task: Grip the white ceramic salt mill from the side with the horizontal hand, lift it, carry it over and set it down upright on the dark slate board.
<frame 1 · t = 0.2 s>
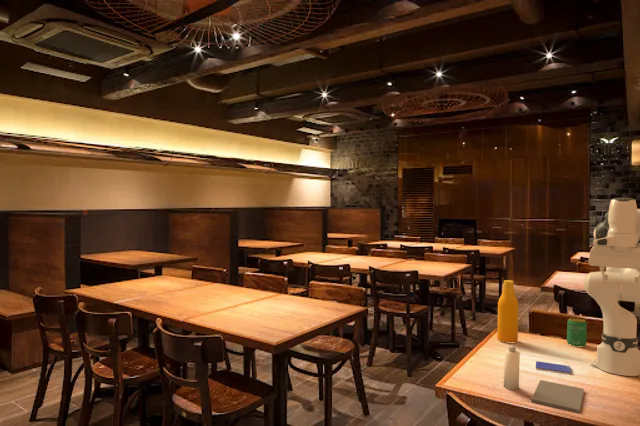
hand: (620, 281, 163), 39 cm above the table, tool pointing down, fingers open, 8 cm apart
slate board: (558, 396, 156), on the table
beer bottle: (507, 341, 220), on the table
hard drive: (552, 370, 183), on the table
beverage can: (576, 345, 215), on the table
salt mill: (511, 387, 164), on the table
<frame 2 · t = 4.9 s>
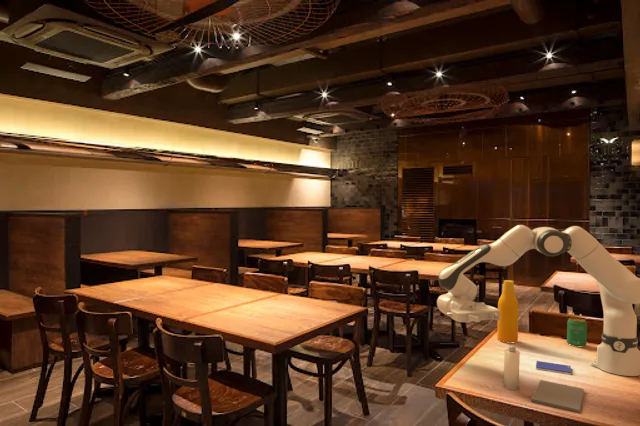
hand: (489, 319, 175), 22 cm above the table, tool horizontal, fingers open, 8 cm apart
nothing on the table moved.
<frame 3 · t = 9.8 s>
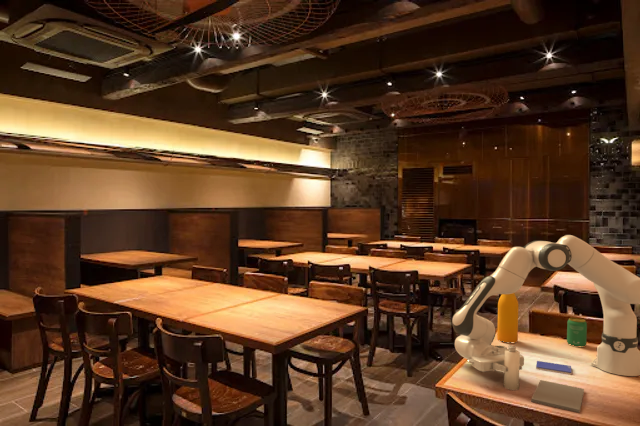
hand: (513, 368, 163), 7 cm above the table, tool horizontal, fingers closed on salt mill, 5 cm apart
salt mill: (511, 387, 164), on the table, touching gripper
everything else where it was.
when the fingers open (9 cm above the table, at t = 16.0 s): salt mill drops 1 cm, resting on slate board.
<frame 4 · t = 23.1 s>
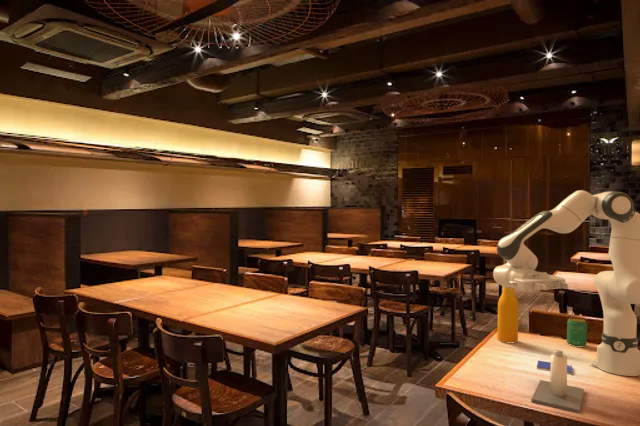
hand: (557, 287, 165), 36 cm above the table, tool horizontal, fingers open, 8 cm apart
salt mill: (558, 393, 156), point 1 cm above the table, touching slate board
everything else where it was.
at the end: salt mill inside the target area on the slate board (0.0 cm from its centre), point 1.1 cm above the slate board's base; salt mill tilted 1°; the gripper is holding nothing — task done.
